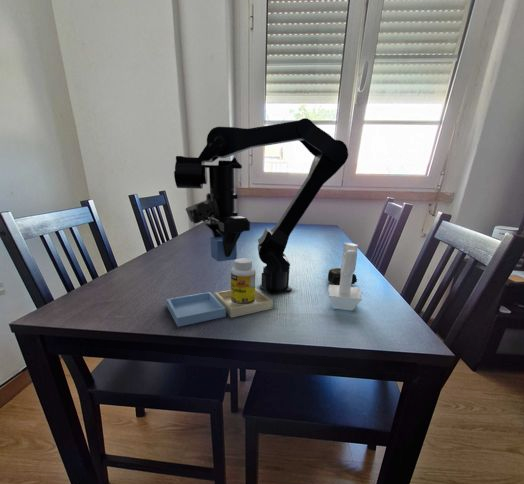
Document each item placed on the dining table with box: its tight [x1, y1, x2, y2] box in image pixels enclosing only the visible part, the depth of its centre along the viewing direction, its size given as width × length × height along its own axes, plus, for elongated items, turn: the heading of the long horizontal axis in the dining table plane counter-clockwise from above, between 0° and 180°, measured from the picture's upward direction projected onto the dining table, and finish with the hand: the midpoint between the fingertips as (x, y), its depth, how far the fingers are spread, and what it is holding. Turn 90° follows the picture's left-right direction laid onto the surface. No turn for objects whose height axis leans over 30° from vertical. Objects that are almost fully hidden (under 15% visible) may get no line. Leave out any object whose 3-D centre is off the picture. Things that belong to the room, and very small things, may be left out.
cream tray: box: [214, 287, 274, 319], centre depth 66 cm, size 10×10×2 cm
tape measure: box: [327, 267, 358, 286], centre depth 80 cm, size 7×7×4 cm
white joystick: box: [328, 242, 363, 311], centre depth 64 cm, size 7×9×15 cm
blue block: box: [210, 236, 238, 262], centre depth 71 cm, size 5×5×5 cm
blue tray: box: [166, 291, 227, 328], centre depth 62 cm, size 10×10×2 cm
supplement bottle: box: [230, 257, 256, 306], centre depth 64 cm, size 6×6×10 cm
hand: (223, 254), depth 72 cm, fingers closed on blue block, 5 cm apart
